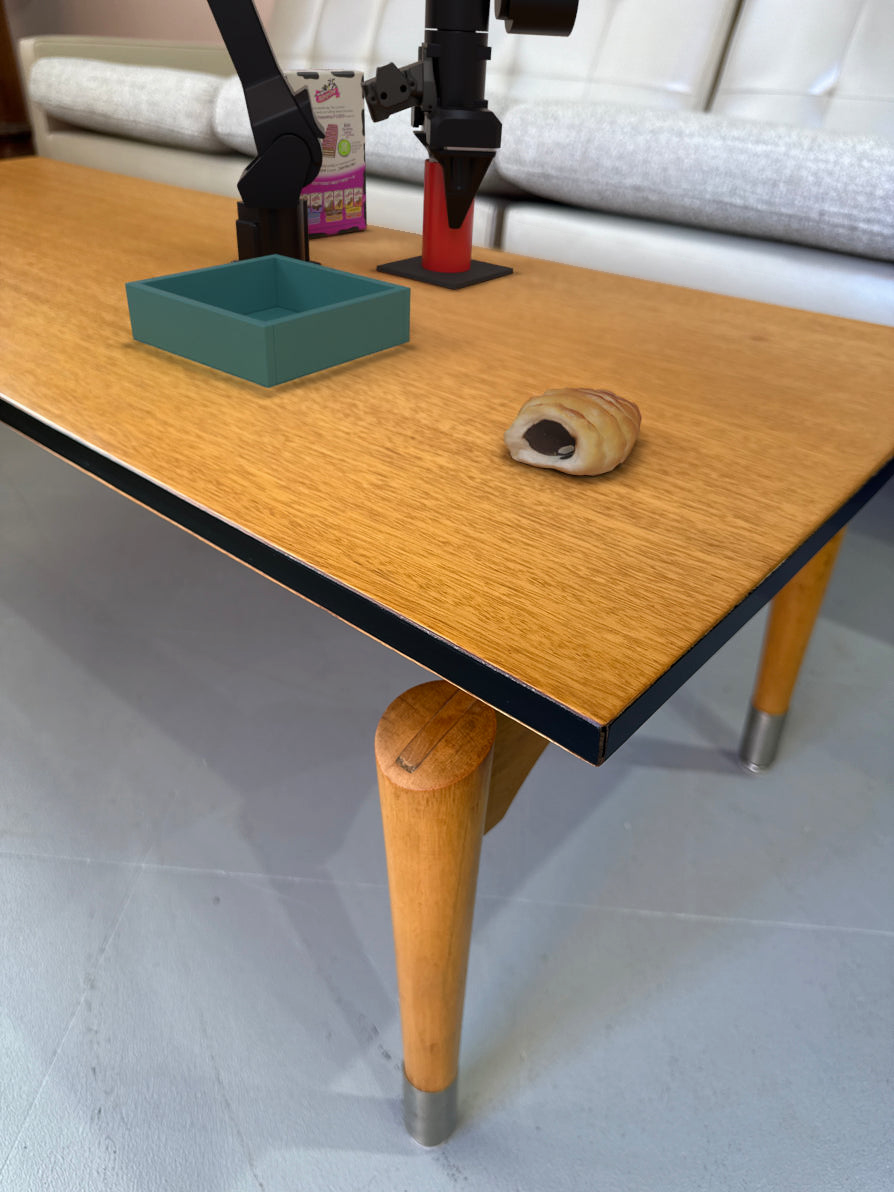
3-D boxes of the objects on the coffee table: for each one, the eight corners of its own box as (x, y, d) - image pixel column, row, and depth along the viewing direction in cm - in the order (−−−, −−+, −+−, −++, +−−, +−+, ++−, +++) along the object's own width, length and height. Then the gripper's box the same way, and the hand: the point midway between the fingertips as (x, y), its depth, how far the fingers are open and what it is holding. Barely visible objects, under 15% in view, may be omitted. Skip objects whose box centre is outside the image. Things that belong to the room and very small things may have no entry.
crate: (278, 308, 75) (275, 253, 72) (409, 347, 67) (411, 287, 65) (133, 345, 65) (124, 282, 62) (268, 394, 57) (264, 326, 55)
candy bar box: (340, 223, 107) (337, 68, 98) (368, 230, 104) (367, 71, 95) (267, 233, 100) (256, 67, 91) (294, 241, 97) (286, 70, 88)
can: (419, 260, 90) (422, 153, 85) (466, 261, 91) (472, 155, 85) (424, 272, 86) (427, 160, 80) (474, 273, 87) (480, 162, 81)
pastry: (569, 412, 57) (577, 355, 55) (664, 440, 54) (676, 381, 52) (493, 457, 51) (499, 394, 49) (597, 492, 48) (608, 426, 46)
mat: (437, 256, 94) (437, 251, 94) (513, 273, 90) (513, 268, 89) (376, 270, 88) (376, 265, 87) (454, 289, 83) (454, 284, 82)
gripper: (360, 25, 84) (362, 200, 92) (371, 26, 68) (371, 236, 77) (474, 32, 85) (465, 203, 94) (510, 34, 70) (495, 239, 79)
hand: (448, 219), depth 86 cm, fingers open, 9 cm apart
